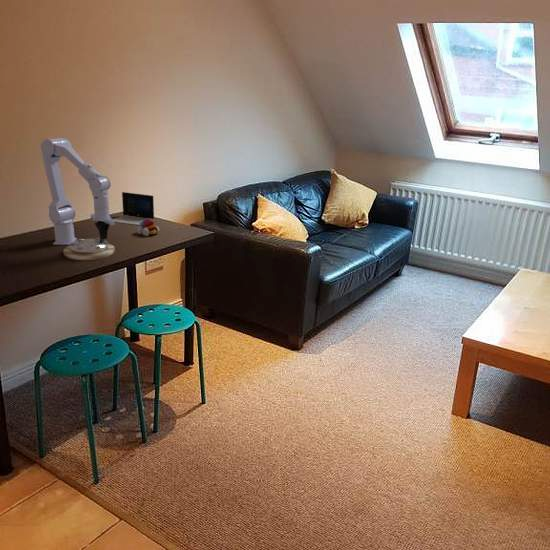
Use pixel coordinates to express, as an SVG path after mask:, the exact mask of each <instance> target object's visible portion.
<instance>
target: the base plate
mask: <svg viewBox="0 0 550 550" xmlns="http://www.w3.org/2000/svg"><path fill="white" fill-rule="evenodd" d="M115 252H116V249H115V246H114V245H113V244H111V243H108V249H107V250H106V251H104V252H101V253H95V254H77V253H73V252H71V251H70V245H68V246H67V245H66V247H64V249H63V255H64V257H65V258H67V259H70V260H76V261H94V260H95V261H96V260H102V259H106V258H108V257H111V256H112V255H114V254H115Z"/></svg>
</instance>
